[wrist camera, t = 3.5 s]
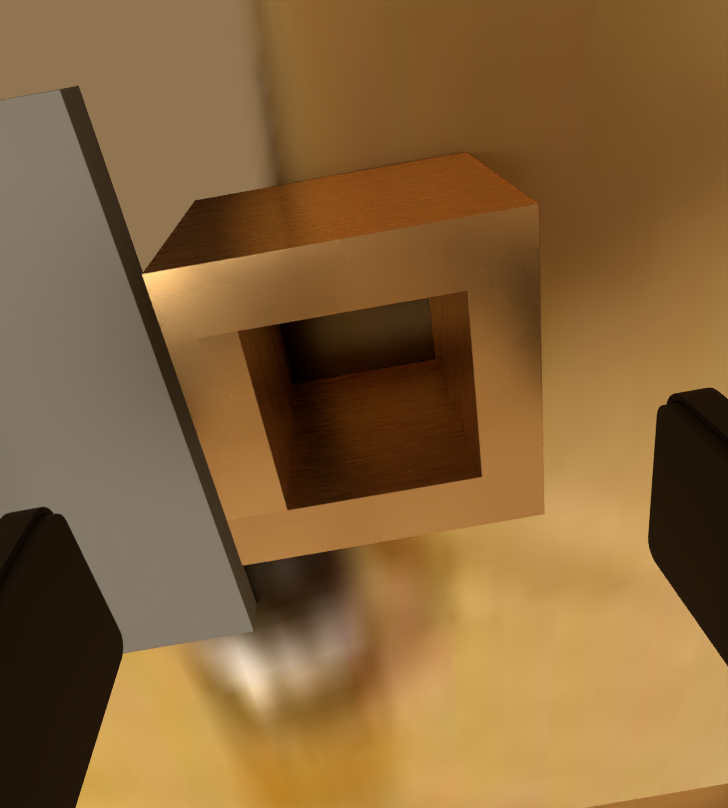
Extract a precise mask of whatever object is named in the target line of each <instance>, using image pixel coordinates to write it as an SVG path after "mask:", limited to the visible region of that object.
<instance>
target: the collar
mask: <svg viewBox="0 0 728 808" xmlns="http://www.w3.org/2000/svg"><path fill="white" fill-rule="evenodd" d="M142 276H143V279H144V282H145V285H146V288H147V291H148V293H149V296H150V299H151V302H152V305H153V308H154V311H155V314H156V317H157V320H158V322H159V325H160V328H161V331H162V334H163V337H164V340H165V343H166V346H167V349H168V351H169V354H170V357H171V360H172V363H173V366H174V369H175V372H176V375H177V377H178V380H179V383H180V386H181V389H182V392H183V395H184V398H185V401H186V404H187V406H188V409H189V412H190V415H191V418H192V421H193V424H194V427H195V430H196V433H197V435H198V438H199V441H200V444H201V447H202V450H203V453H204V456H205V459H206V462H207V464H208V467H209V470H210V473H211V476H212V479H213V482H214V485H215V488H216V491H217V493H218V496H219V499H220V502H221V505H222V508H223V511H224V514H225V517H226V519H227V522H228V525H229V528H230V531H231V534H232V537H233V540H234V543H235V546H236V548H237V551H238V554H239V557H240V560H241V563H242V566H243V565H249V564H255V563H261V562H266V561H272V560H278V559H284V558H290V557H296V556H302V555H307V554H313V553H319V552H325V551H331V550H337V549H343V548H348V547H354V546H360V545H366V544H372V543H378V542H384V541H389V540H395V539H401V538H407V537H413V536H419V535H425V534H430V533H436V532H442V531H448V530H454V529H460V528H466V527H471V526H477V525H483V524H489V523H495V522H501V521H507V520H512V519H518V518H524V517H530V516H536V515H542V514H544V468H543V416H542V363H541V310H540V257H539V205H538V203H537V202H535V201H534V200H532V199H531V198H530V197H528V196H527V195H525V194H524V193H523V192H521V191H520V190H518V189H517V188H516V187H514V186H513V185H511V184H510V183H509V182H507V181H506V180H504V179H503V178H502V177H500V176H499V175H497V174H496V173H495V172H493V171H492V170H490V169H489V168H488V167H486V166H485V165H483V164H482V163H481V162H479V161H478V160H476V159H475V158H474V157H472V156H471V155H469V154H468V153H467V152H463V153H458V154H452V155H446V156H441V157H435V158H430V159H424V160H419V161H413V162H407V163H402V164H396V165H391V166H385V167H379V168H374V169H368V170H363V171H357V172H352V173H346V174H340V175H335V176H329V177H324V178H318V179H313V180H307V181H301V182H296V183H290V184H285V185H279V186H273V187H268V188H262V189H257V190H251V191H246V192H240V193H235V194H229V195H224V196H218V197H213V198H207V199H201V200H195V201H194V203H193V204H192V205H191V207H190V208H189V210H188V211H187V213H186V214H185V215H184V217H183V218H182V219H181V221H180V222H179V223H178V225H177V226H176V228H175V229H174V230H173V232H172V233H171V235H170V236H169V237H168V239H167V240H166V242H165V243H164V244H163V246H162V247H161V249H160V250H159V251H158V253H157V254H156V256H155V257H154V259H153V260H152V261H151V262H150V264H149V265H148V267H147V268H146V269H145V271H144V272H143V274H142ZM423 298H429V303H430V312H431V321H432V330H433V339H434V348H435V357H436V359H434V360H428V361H422V362H417V363H411V364H405V365H400V366H394V367H388V368H382V369H377V370H371V371H365V372H359V373H354V374H348V375H342V376H337V377H331V378H325V379H319V380H314V381H308V382H302V383H296V384H293V380H292V376H291V371H290V367H289V363H288V359H287V355H286V351H285V347H284V343H283V338H282V334H281V330H280V326H279V324H281V323H287V322H292V321H298V320H304V319H309V318H315V317H321V316H326V315H332V314H338V313H343V312H349V311H355V310H360V309H366V308H372V307H378V306H383V305H389V304H395V303H400V302H406V301H412V300H417V299H423Z"/></svg>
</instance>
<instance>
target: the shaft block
mask: <svg viewBox="0 0 728 808" xmlns="http://www.w3.org/2000/svg"><path fill="white" fill-rule="evenodd" d="M142 274H143V272H142V269H141V266H140V263H139V260H138V257H137V255H136V252H135V249H134V246H133V243H132V240H131V237H130V234H129V231H128V228H127V226H126V223H125V220H124V217H123V214H122V211H121V208H120V205H119V202H118V199H117V196H116V193H115V191H114V188H113V185H112V182H111V179H110V176H109V173H108V171H107V167H106V164H105V161H104V159H103V156H102V153H101V150H100V147H99V144H98V141H97V138H96V136H95V132H94V130H93V127H92V124H91V121H90V118H89V115H88V112H87V109H86V106H85V103H84V100H83V98H82V95H81V92H80V89H79V86H76V87H70V88H64V89H59V90H53V91H48V92H42V93H37V94H31V95H26V96H20V97H15V98H9V99H4V100H0V519H1V517H2V516H3V515H4V514H7V513H10V512H16V511H21V510H27V509H32V508H38V507H47V508H49V509H50V510H51V511H52V512H53V513H54V514H57V513H58V514H61V515H62V516H64V518H65V519H66V521H67V523H68V525H69V527H70V529H71V531H72V533H73V535H74V537H75V539H76V541H77V543H78V545H79V547H80V549H81V552H82V554H83V556H84V558H85V560H86V562H87V564H88V566H89V568H90V570H91V572H92V574H93V576H94V578H95V580H96V582H97V584H98V586H99V588H100V590H101V593H102V595H103V597H104V599H105V601H106V603H107V605H108V607H109V609H110V611H111V613H112V615H113V617H114V619H115V621H116V623H117V625H118V627H119V629H120V632H121V634H122V639H123V653H129V652H135V651H140V650H146V649H152V648H158V647H164V646H170V645H176V644H182V643H188V642H194V641H200V640H205V639H211V638H217V637H223V636H229V635H235V634H241V633H247V632H253V631H254V623H255V612H256V600H255V598H254V595H253V592H252V589H251V586H250V583H249V580H248V577H247V574H246V571H245V569H244V566H242V563H241V560H240V557H239V554H238V551H237V548H236V546H235V543H234V540H233V537H232V534H231V531H230V528H229V525H228V522H227V519H226V517H225V514H224V511H223V508H222V505H221V502H220V499H219V496H218V493H217V491H216V488H215V485H214V482H213V479H212V476H211V473H210V470H209V467H208V464H207V462H206V459H205V456H204V453H203V450H202V447H201V444H200V441H199V438H198V435H197V433H196V430H195V427H194V424H193V421H192V418H191V415H190V412H189V409H188V406H187V404H186V401H185V398H184V395H183V392H182V389H181V386H180V383H179V380H178V377H177V375H176V372H175V369H174V366H173V363H172V360H171V357H170V354H169V351H168V349H167V346H166V343H165V340H164V337H163V334H162V331H161V328H160V325H159V322H158V320H157V317H156V314H155V311H154V308H153V305H152V302H151V299H150V296H149V293H148V291H147V288H146V285H145V282H144V279H143V276H142Z"/></svg>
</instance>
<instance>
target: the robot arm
mask: <svg viewBox="0 0 728 808" xmlns="http://www.w3.org/2000/svg"><path fill="white" fill-rule="evenodd" d="M648 543H649V548H650V552H651V555H652V557H653V559H654V561H655V563H656V564H657V566H658V567H659V568H660V570H661V571H662V573H663V574H664V576H665V577H666V578H667V580H668V581H669V583H670V584H671V586H672V587H673V588H674V590H675V591H676V593H677V594H678V596H679V597H680V598H681V600H682V601H683V603H684V604H685V606H686V607H687V608H688V610H689V611H690V613H691V614H692V616H693V617H694V618H695V620H696V621H697V623H698V624H699V626H700V627H701V628H702V630H703V631H704V633H705V634H706V636H707V637H708V638H709V640H710V641H711V643H712V644H713V646H714V647H715V648H716V650H717V651H718V653H719V654H720V656H721V657H722V658H723V660H724V661H725V663H726V664H727V666H728V399H727V398H726V397H725V396H724V395H722V394H721V393H720V392H718V391H717V390H715V389H714V388H703V389H698V390H692V391H686V392H681V393H675V394H672V395H671V396H670V397H669V399H668V401H667V405H662V406H660V407H659V409H658V412H657V421H656V435H655V449H654V463H653V477H652V491H651V506H650V520H649V534H648ZM122 655H123V639H122V634H121V632H120V629H119V627H118V625H117V623H116V621H115V619H114V617H113V615H112V613H111V611H110V609H109V607H108V605H107V603H106V601H105V599H104V597H103V595H102V593H101V590H100V588H99V586H98V584H97V582H96V580H95V578H94V576H93V574H92V572H91V570H90V568H89V566H88V564H87V562H86V560H85V558H84V556H83V554H82V552H81V549H80V547H79V545H78V543H77V541H76V539H75V537H74V535H73V533H72V531H71V529H70V527H69V525H68V523H67V521H66V519H65V518H64V516H62V515H61V514H58V513H57V514H54V513H53V512H52V511H51V510H50V509H49V508H47V507H38V508H32V509H27V510H21V511H16V512H10V513H7V514H4V515H3V516H2V517H1V519H0V808H75V807H76V804H77V801H78V798H79V794H80V791H81V788H82V785H83V782H84V778H85V775H86V772H87V769H88V765H89V762H90V759H91V756H92V753H93V749H94V746H95V743H96V740H97V736H98V733H99V730H100V727H101V724H102V720H103V717H104V714H105V711H106V707H107V704H108V701H109V698H110V695H111V691H112V688H113V685H114V682H115V678H116V675H117V672H118V669H119V665H120V662H121V659H122ZM587 808H728V784H723V785H717V786H711V787H705V788H699V789H693V790H687V791H681V792H676V793H670V794H664V795H658V796H652V797H646V798H640V799H634V800H628V801H623V802H617V803H611V804H605V805H599V806H593V807H587Z"/></svg>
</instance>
